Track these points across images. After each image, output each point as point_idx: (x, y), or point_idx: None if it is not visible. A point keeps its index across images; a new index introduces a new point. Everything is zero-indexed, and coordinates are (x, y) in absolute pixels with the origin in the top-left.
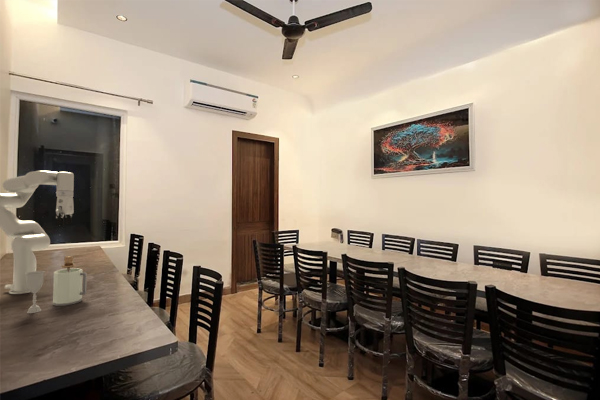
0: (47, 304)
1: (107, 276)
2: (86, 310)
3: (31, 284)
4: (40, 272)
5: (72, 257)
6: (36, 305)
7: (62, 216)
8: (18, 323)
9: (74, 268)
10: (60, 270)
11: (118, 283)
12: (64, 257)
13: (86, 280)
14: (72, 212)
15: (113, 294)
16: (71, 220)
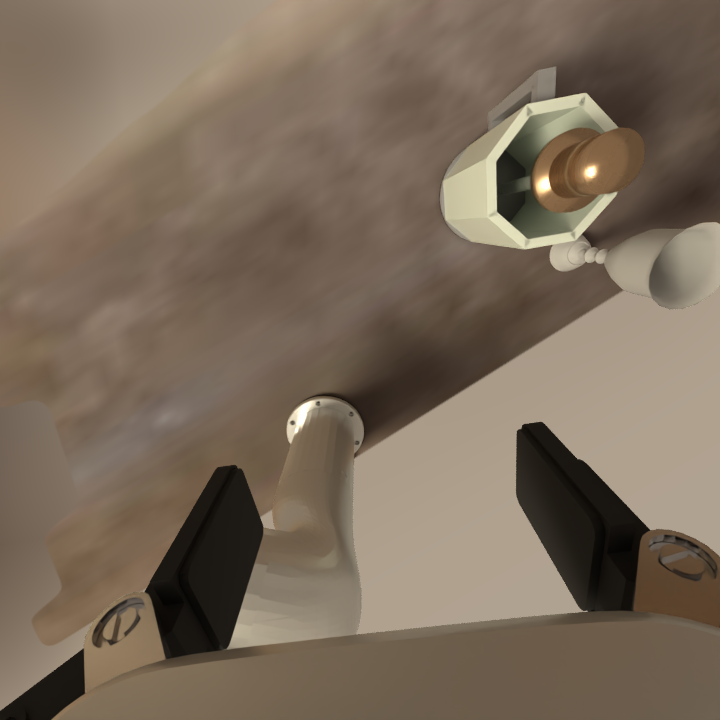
0: (497, 255)
1: (77, 247)
2: (624, 33)
3: (679, 256)
4: (651, 264)
5: (619, 129)
6: (579, 247)
7: (673, 581)
8: (684, 221)
9: (489, 179)
10: (524, 236)
11: (198, 109)
12: (625, 185)
13: (515, 90)
14: (171, 718)
15: (399, 24)
16: (200, 511)
